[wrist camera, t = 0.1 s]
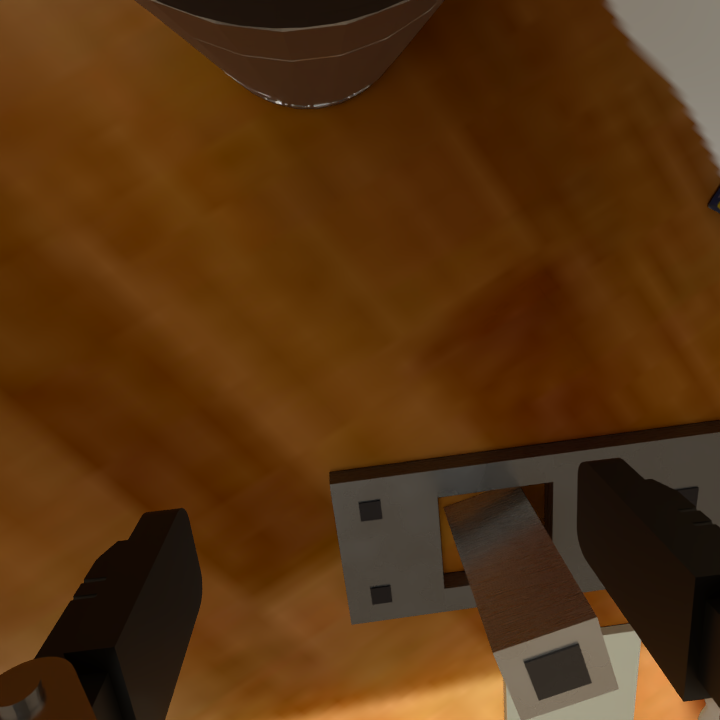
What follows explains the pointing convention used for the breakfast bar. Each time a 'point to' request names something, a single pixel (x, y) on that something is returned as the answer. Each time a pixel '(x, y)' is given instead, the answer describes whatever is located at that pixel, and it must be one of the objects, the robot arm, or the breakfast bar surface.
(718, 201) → the supplement box
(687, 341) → the breakfast bar surface
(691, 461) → the grey metal plate
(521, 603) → the block
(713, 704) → the mechanical part
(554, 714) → the tile
